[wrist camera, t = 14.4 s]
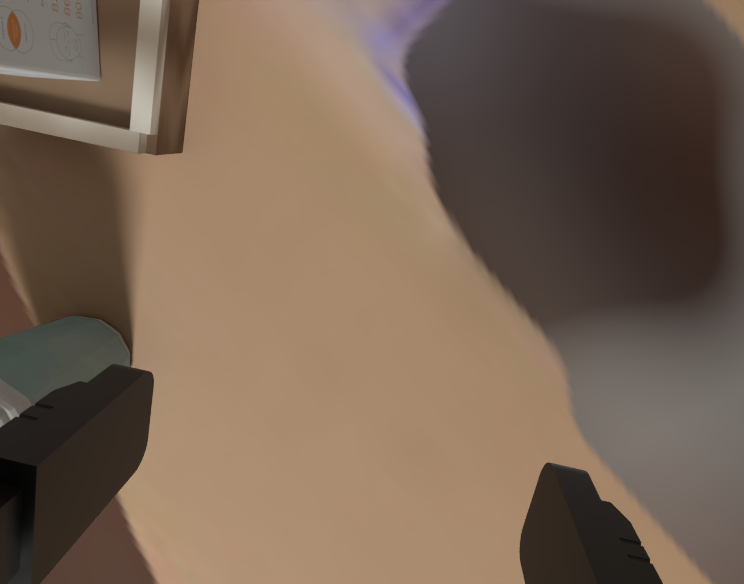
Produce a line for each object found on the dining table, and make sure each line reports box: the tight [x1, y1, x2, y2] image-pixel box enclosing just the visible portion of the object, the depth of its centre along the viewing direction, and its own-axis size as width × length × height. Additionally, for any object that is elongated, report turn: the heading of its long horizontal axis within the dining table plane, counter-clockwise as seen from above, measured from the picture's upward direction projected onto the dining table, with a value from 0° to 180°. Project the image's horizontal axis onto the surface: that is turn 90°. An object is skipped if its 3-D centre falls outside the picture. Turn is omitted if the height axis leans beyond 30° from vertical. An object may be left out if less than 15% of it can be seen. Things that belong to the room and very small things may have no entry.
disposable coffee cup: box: [0, 315, 130, 427], centre depth 36 cm, size 11×11×15 cm
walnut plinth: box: [0, 0, 199, 155], centre depth 35 cm, size 14×14×5 cm
